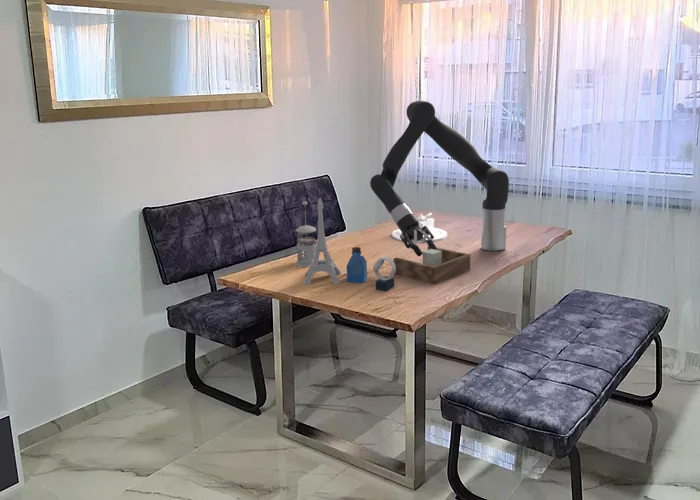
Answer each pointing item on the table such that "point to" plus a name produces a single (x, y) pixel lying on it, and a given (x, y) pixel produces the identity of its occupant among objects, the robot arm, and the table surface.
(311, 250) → the french press
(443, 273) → the walnut u-shaped frame
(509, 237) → the table surface
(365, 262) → the perfume bottle
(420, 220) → the dish
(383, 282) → the watch
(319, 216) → the eiffel tower
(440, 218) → the table surface
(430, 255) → the sage block
